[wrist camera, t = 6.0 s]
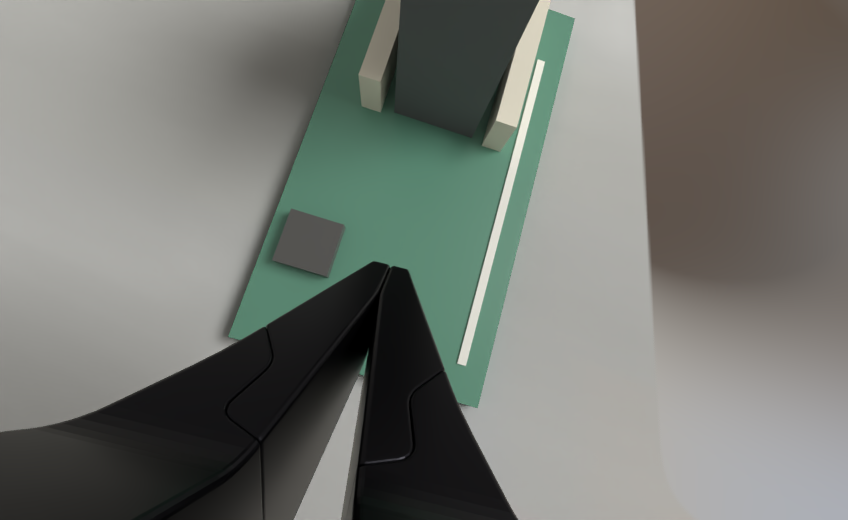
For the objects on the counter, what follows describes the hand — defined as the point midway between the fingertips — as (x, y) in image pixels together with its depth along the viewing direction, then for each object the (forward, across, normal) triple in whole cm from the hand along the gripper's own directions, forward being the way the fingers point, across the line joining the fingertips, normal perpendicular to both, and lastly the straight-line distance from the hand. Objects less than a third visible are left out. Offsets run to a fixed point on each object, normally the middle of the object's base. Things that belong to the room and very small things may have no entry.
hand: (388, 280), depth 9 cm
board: (+16, +1, +2) cm, 16 cm away
